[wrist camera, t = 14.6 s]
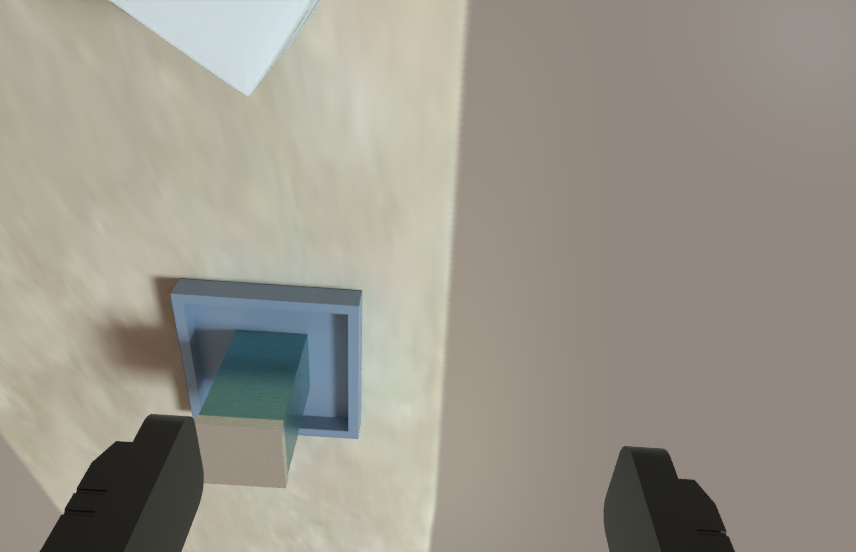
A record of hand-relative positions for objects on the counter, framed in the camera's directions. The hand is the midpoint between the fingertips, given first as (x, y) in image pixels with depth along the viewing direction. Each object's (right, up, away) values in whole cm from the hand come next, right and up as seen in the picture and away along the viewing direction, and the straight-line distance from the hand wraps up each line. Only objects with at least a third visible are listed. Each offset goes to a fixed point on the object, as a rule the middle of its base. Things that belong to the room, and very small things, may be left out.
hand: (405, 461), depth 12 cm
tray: (-12, -3, +40) cm, 42 cm away
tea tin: (-12, -3, +40) cm, 42 cm away
